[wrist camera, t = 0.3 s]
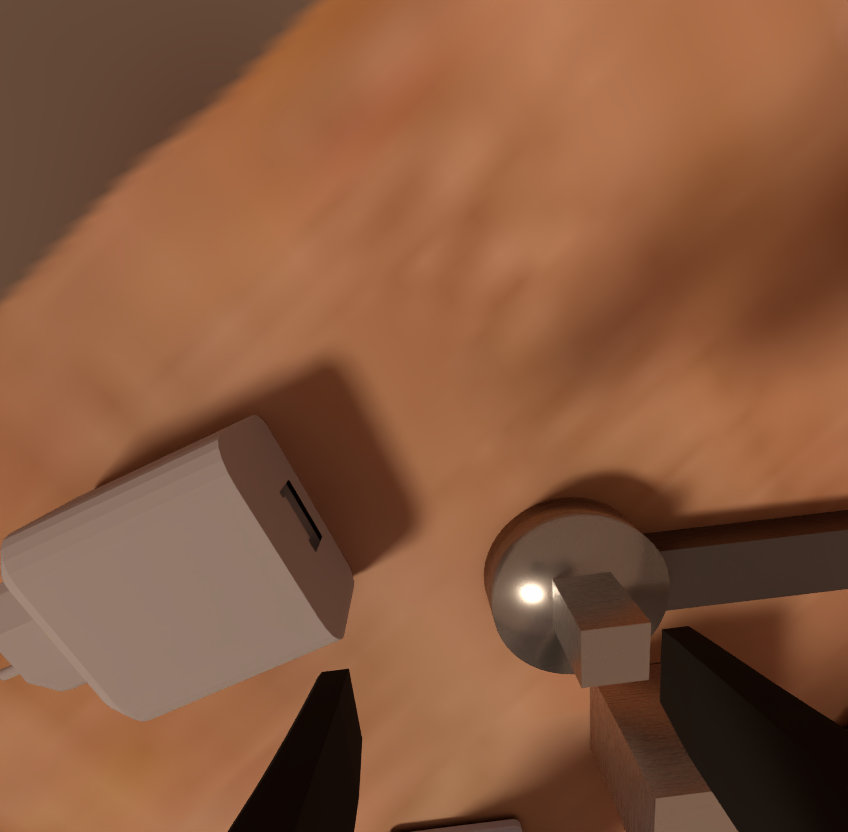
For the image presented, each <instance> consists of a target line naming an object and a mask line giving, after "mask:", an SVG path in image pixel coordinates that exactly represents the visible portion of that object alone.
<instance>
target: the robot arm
mask: <svg viewBox="0 0 848 832" xmlns="http://www.w3.org/2000/svg"><path fill="white" fill-rule="evenodd" d="M660 703H661V705H662V707H663V709H664V711H665V713H666V715H667V717H668V718H669V720H670V722H671V724H672V726H673V728H674V730H675V732H676V734H677V736H678V737H679V739H680V741H681V743H682V745H683V747H684V748H685V750H686V752H687V754H688V756H689V757H690V759H691V760H692V762H693V763H694V765H695V767H696V768H697V770H698V771H699V773H700V774H701V776H702V777H703V779H704V780H705V782H706V784H707V785H708V787H709V788H710V790H711V791H712V793H713V794H714V796H715V797H716V799H717V800H718V802H719V803H720V805H721V806H722V808H723V810H724V811H725V813H726V814H727V816H728V817H729V819H730V820H731V822H732V823H733V825H734V826H735V828H736V829H737V831H738V832H848V730H846V729H845V728H843V727H842V726H840V725H838V724H837V723H835V722H834V721H832V720H830V719H829V718H827V717H826V716H824V715H822V714H821V713H819V712H818V711H816V710H815V709H813V708H812V707H810V706H808V705H807V704H805V703H804V702H802V701H801V700H799V699H798V698H796V697H795V696H793V695H792V694H790V693H788V692H787V691H785V690H784V689H782V688H781V687H779V686H778V685H776V684H775V683H773V682H772V681H770V680H769V679H767V678H766V677H764V676H763V675H761V674H760V673H758V672H757V671H755V670H754V669H752V668H751V667H749V666H748V665H746V664H745V663H743V662H742V661H740V660H739V659H737V658H736V657H734V656H733V655H731V654H730V653H728V652H727V651H725V650H724V649H723V648H721V647H720V646H718V645H717V644H715V643H714V642H712V641H711V640H709V639H708V638H706V637H704V636H703V635H701V634H700V633H698V632H697V631H695V630H694V629H692V628H691V627H689V626H686V627H678V628H670V629H662V646H661V675H660ZM361 751H362V736H361V730H360V725H359V720H358V715H357V709H356V704H355V699H354V694H353V688H352V683H351V678H350V673H349V669H343V670H335V671H327V672H322V673H321V674H320V675H319V676H318V678H317V680H316V682H315V684H314V686H313V688H312V689H311V691H310V693H309V695H308V697H307V699H306V701H305V703H304V705H303V707H302V708H301V710H300V712H299V714H298V716H297V718H296V719H295V721H294V723H293V725H292V727H291V728H290V730H289V732H288V734H287V736H286V737H285V739H284V741H283V743H282V744H281V746H280V748H279V749H278V751H277V753H276V754H275V756H274V758H273V760H272V761H271V763H270V765H269V766H268V768H267V770H266V771H265V773H264V775H263V777H262V778H261V780H260V781H259V783H258V785H257V786H256V788H255V790H254V791H253V793H252V794H251V796H250V798H249V799H248V801H247V802H246V804H245V805H244V807H243V808H242V810H241V812H240V813H239V815H238V816H237V818H236V819H235V821H234V823H233V824H232V826H231V827H230V829H229V830H228V832H354V828H355V821H356V814H357V807H358V800H359V786H360V770H361ZM412 832H522V828H521V824H520V822H519V821H518V820H516V819H508V820H500V821H492V822H484V823H476V824H468V825H460V826H452V827H444V828H436V829H428V830H420V831H412Z"/></svg>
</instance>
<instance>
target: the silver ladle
mask: <svg viewBox="0 0 848 832" xmlns="http://www.w3.org/2000/svg"><path fill="white" fill-rule="evenodd" d="M484 584H485V590H486V594H487V597H488V601H489V604H490V608H491V611H492V615H493V618H494V622H495V625H496V628H497V631H498V633H499V635H500V637H501V639H502V640H503V642H504V643H505V645H506V646H507V647H508V648H509V649H510V650H511V651H512V653H513V654H515V655H516V656H517V657H518V658H520V659H521V660H522V661H524V662H526V663H528V664H529V665H531V666H533V667H536V668H538V669H541V670H545V671H548V672H553V673H559V674H575V675H576V677H577V679H578V681H579V684H580V686H581V688H586V687H595V686H603V685H611V684H619V683H628V682H636V681H644V680H649V666H650V640H651V636H652V634H653V633H654V632H655V630H656V629H657V627H658V626H659V624H660V622H661V621H662V618H663V616H664V614H665V611H666V610H674V609H683V608H691V607H700V606H708V605H716V604H725V603H733V602H742V601H750V600H759V599H767V598H775V597H784V596H792V595H801V594H809V593H818V592H826V591H834V590H843V589H848V510H844V511H836V512H827V513H818V514H810V515H801V516H793V517H784V518H775V519H767V520H758V521H749V522H741V523H732V524H723V525H715V526H706V527H698V528H689V529H680V530H672V531H663V532H654V533H646V534H642V533H641V532H640V531H639V530H638V529H637V528H635V527H634V526H633V525H632V524H631V523H630V522H629V521H628V520H627V519H626V518H625V517H623V516H622V515H621V514H620V513H619V512H617V511H616V510H614V509H613V508H611V507H609V506H607V505H605V504H603V503H600V502H597V501H594V500H590V499H585V498H560V499H554V500H549V501H546V502H543V503H540V504H537V505H535V506H533V507H531V508H529V509H527V510H525V511H524V512H522V513H520V514H519V515H518V516H516V517H515V518H514V519H512V520H511V521H510V522H509V523H508V524H507V525H506V526H505V527H504V528H503V529H502V530H501V532H500V533H499V534H498V535H497V537H496V539H495V540H494V542H493V543H492V545H491V548H490V550H489V552H488V555H487V558H486V562H485V568H484Z"/></svg>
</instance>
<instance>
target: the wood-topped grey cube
mask: <svg viewBox="0 0 848 832" xmlns="http://www.w3.org/2000/svg"><path fill="white" fill-rule="evenodd" d="M660 675H661V663H659V664H651V665H650V666H649V680H644V681H636V682H628V683H619V684H611V685H603V686H595V687H590V723H591V751H592V753H593V756H594V758H595V760H596V763H597V765H598V767H599V770H600V772H601V774H602V777H603V779H604V781H605V784H606V786H607V789H608V791H609V793H610V796H611V798H612V800H613V803H614V805H615V807H616V810H617V812H618V814H619V817H620V819H621V821H622V824H623V826H624V829H625V831H626V832H738V831H737V829H736V828H735V826H734V825H733V823H732V822H731V820H730V819H729V817H728V816H727V814H726V813H725V811H724V810H723V808H722V806H721V805H720V803H719V802H718V800H717V799H716V797H715V796H714V794H713V793H712V791H711V790H710V788H709V787H708V785H707V784H706V782H705V780H704V779H703V777H702V776H701V774H700V773H699V771H698V770H697V768H696V767H695V765H694V763H693V762H692V760H691V759H690V757H689V756H688V754H687V752H686V750H685V748H684V747H683V745H682V743H681V741H680V739H679V737H678V736H677V734H676V732H675V730H674V728H673V726H672V724H671V722H670V720H669V718H668V717H667V715H666V713H665V711H664V709H663V707H662V705H661V703H660Z"/></svg>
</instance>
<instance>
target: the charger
mask: <svg viewBox="0 0 848 832" xmlns="http://www.w3.org/2000/svg"><path fill="white" fill-rule="evenodd" d="M288 480H289V481H290V482H291V484H292V486H293V487H294V489H295V491H296V493H297V494H298V496H299V498H300V499H301V501H302V503H303V504H304V506H305V508H306V509H307V511H308V513H309V515H310V516H311V518H312V520H313V521H314V523H315V525H316V526H317V528H318V530H319V532H320V533H321V535H322V539H321V541H320V540H319V538H318V536H317V534H316V533H315V531H314V529H313V528H312V526H311V524H310V523H309V521H308V519H307V518H306V516H305V514H304V513H303V511H302V509H301V507H300V506H299V504H298V502H297V501H296V499H295V497H294V496H293V494H292V492H291V491H290V489H289V487H288V486H287V484H286V483H287V481H288ZM1 575H2V579H3V583H1V584H0V653H1V654H2V655H3V656H4V657H5V658H6V659H7V661H8V662H9V663H10V664H11V665H10V666H8V667H6V668H3V669H1V670H0V679H1V680H8V679H10V678H12V677H15V676H17V675H19V674H20V675H21V676H22V677H23V678H24V679H25V681H26V682H27V683H30V684H34V685H38V686H42V687H46V688H50V689H54V690H58V691H65V690H70V689H74V688H76V687H79V686H81V685H83V684H86V683H88V684H89V685H90V686H91V688H92V689H93V690H94V691H95V692H96V693H97V695H98V696H99V697H100V698H101V699H102V701H103V702H104V703H106V704H107V705H108V706H109V707H111V708H112V709H114V710H116V711H118V712H120V713H122V714H124V715H126V716H129V717H131V718H133V719H135V720H139V721H148V720H152V719H154V718H156V717H159V716H161V715H163V714H166V713H168V712H170V711H173V710H175V709H178V708H180V707H182V706H185V705H187V704H189V703H192V702H194V701H196V700H199V699H201V698H204V697H206V696H208V695H211V694H213V693H215V692H218V691H220V690H222V689H225V688H227V687H230V686H232V685H234V684H237V683H239V682H241V681H244V680H246V679H249V678H251V677H253V676H256V675H258V674H260V673H263V672H265V671H267V670H270V669H272V668H275V667H277V666H279V665H282V664H284V663H286V662H289V661H291V660H293V659H296V658H298V657H301V656H303V655H305V654H308V653H310V652H312V651H315V650H317V649H319V648H322V647H324V646H327V645H329V644H331V643H334V642H336V641H338V640H341V639H342V638H343V636H344V633H345V628H346V623H347V618H348V613H349V608H350V603H351V598H352V593H353V588H354V580H353V576H352V572H351V569H350V567H349V565H348V563H347V562H346V560H345V558H344V556H343V555H342V553H341V551H340V549H339V548H338V546H337V544H336V542H335V541H334V539H333V537H332V536H331V534H330V532H329V530H328V529H327V527H326V525H325V524H324V522H323V520H322V518H321V517H320V515H319V513H318V512H317V510H316V508H315V506H314V505H313V503H312V501H311V500H310V498H309V496H308V494H307V493H306V491H305V489H304V487H303V486H302V484H301V482H300V481H299V479H298V477H297V475H296V474H295V472H294V470H293V469H292V467H291V465H290V463H289V462H288V460H287V458H286V457H285V455H284V453H283V451H282V450H281V448H280V446H279V445H278V443H277V441H276V439H275V438H274V436H273V434H272V433H271V431H270V429H269V428H268V426H267V424H266V423H265V422H264V421H263V420H262V419H261V418H260V417H259V416H257V415H251V416H249V417H247V418H245V419H243V420H241V421H239V422H236V423H234V424H232V425H230V426H228V427H226V428H224V429H222V430H219V431H217V432H215V433H213V434H211V435H209V436H207V437H205V438H202V439H200V440H198V441H196V442H194V443H192V444H190V445H188V446H185V447H183V448H181V449H179V450H177V451H175V452H173V453H171V454H168V455H166V456H164V457H162V458H160V459H158V460H156V461H154V462H151V463H149V464H147V465H145V466H143V467H141V468H139V469H137V470H134V471H132V472H130V473H128V474H126V475H124V476H122V477H120V478H117V479H115V480H113V481H111V482H109V483H107V484H105V485H103V486H100V487H98V488H96V489H94V490H92V491H90V492H88V493H86V494H83V495H81V496H79V497H77V498H75V499H73V500H71V501H70V502H68V503H66V504H64V505H62V506H60V507H59V508H57V509H55V510H53V511H51V512H49V513H47V514H46V515H44V516H42V517H40V518H38V519H36V520H34V521H33V522H31V523H29V524H27V525H25V526H23V527H22V528H20V529H18V530H16V531H14V532H12V533H10V534H9V535H8V536H7V537H6V538H5V539H4V540H3V542H2V547H1Z"/></svg>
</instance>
